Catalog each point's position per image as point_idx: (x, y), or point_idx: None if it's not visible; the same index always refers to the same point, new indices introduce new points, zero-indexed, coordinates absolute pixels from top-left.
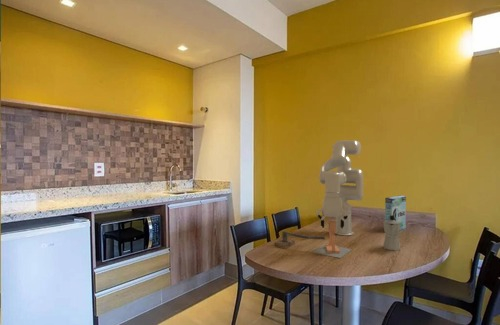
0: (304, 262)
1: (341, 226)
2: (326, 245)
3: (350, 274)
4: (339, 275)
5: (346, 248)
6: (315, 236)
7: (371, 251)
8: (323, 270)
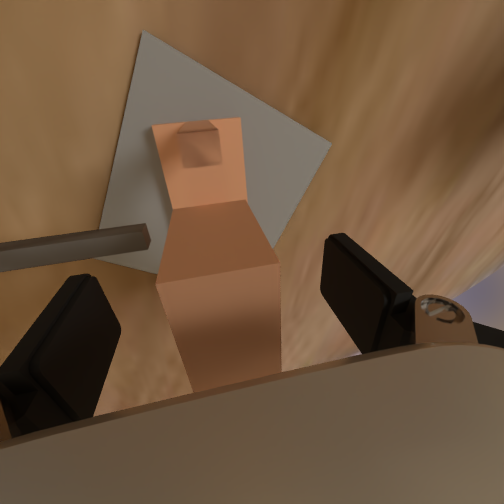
0: None
1: (329, 305)
2: (164, 149)
3: None
4: None
5: (302, 133)
6: (54, 251)
7: (427, 143)
8: (186, 394)
